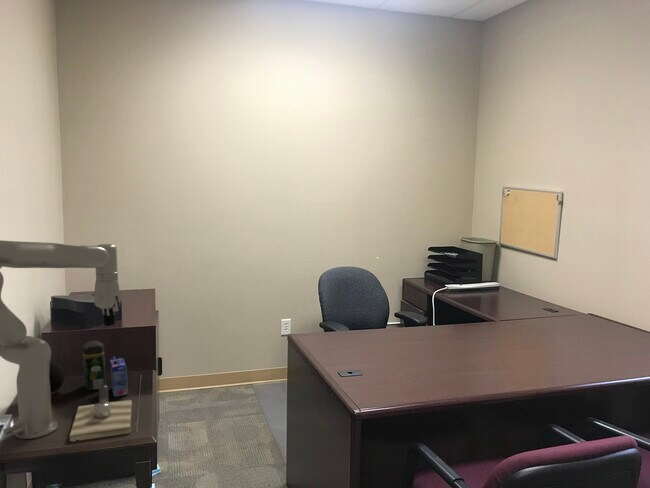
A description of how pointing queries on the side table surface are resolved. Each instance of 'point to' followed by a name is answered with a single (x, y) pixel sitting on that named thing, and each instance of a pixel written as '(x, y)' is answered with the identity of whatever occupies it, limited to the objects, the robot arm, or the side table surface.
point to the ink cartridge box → (118, 377)
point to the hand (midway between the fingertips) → (109, 325)
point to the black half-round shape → (55, 381)
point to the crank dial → (103, 403)
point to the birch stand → (102, 421)
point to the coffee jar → (94, 365)
